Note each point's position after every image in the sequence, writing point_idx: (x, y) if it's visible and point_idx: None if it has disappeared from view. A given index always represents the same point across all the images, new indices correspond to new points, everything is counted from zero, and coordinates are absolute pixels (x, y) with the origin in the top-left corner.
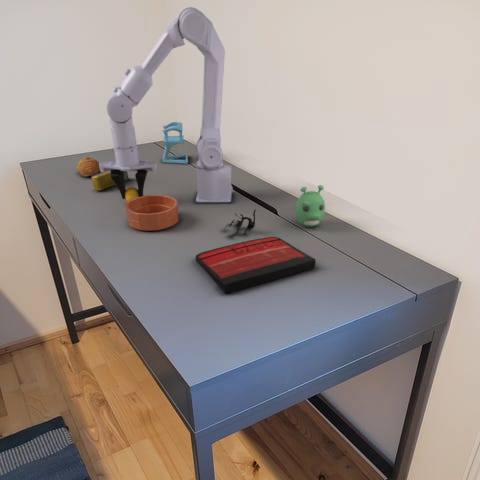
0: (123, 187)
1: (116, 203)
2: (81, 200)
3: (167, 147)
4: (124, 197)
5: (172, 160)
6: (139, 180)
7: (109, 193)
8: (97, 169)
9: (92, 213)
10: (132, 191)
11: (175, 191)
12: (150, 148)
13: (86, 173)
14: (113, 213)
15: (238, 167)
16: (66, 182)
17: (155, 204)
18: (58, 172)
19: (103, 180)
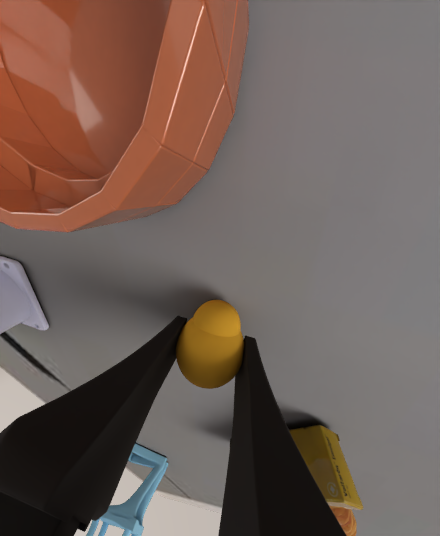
0: (241, 395)
1: (280, 335)
2: (412, 397)
3: (135, 503)
4: (246, 340)
5: (146, 456)
6: (92, 405)
7: (291, 402)
8: None
9: (427, 269)
10: (198, 351)
11: (109, 350)
12: (194, 492)
13: None
14: (313, 242)
15: (36, 396)
16: (400, 489)
17: (69, 188)
18: (395, 521)
19: (310, 468)
